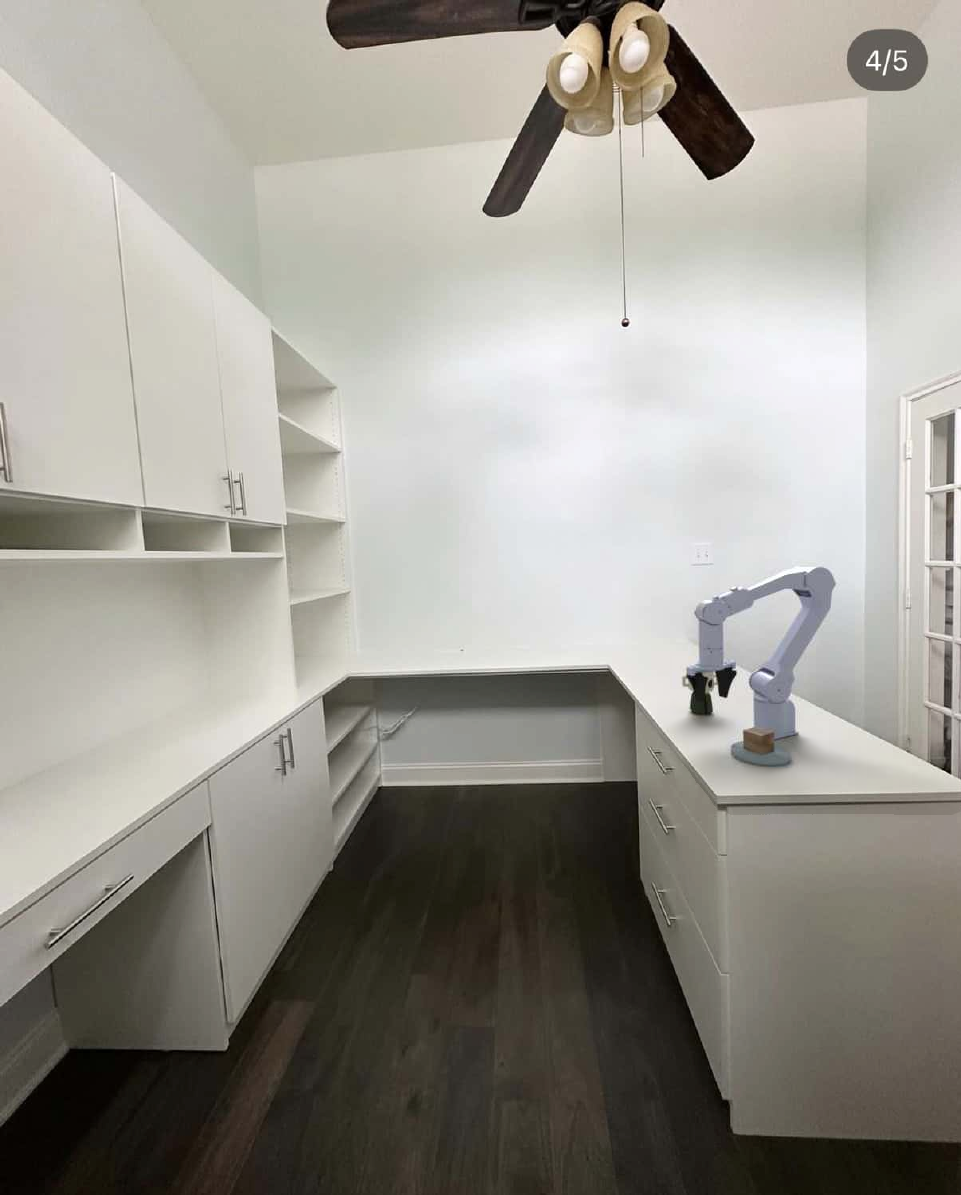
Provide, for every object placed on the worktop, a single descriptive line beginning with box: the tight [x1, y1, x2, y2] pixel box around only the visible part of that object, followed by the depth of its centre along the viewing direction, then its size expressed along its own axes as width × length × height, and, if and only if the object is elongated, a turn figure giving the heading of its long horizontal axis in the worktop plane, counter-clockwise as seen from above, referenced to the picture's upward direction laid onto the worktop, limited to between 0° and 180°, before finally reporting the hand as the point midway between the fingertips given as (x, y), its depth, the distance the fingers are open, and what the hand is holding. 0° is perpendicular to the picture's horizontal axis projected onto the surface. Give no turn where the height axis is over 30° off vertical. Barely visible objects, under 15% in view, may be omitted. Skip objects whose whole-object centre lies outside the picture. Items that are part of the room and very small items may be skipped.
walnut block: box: [742, 726, 775, 755], centre depth 116 cm, size 4×4×4 cm
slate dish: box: [730, 740, 792, 767], centre depth 116 cm, size 12×12×1 cm
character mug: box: [681, 671, 718, 715], centre depth 147 cm, size 11×7×13 cm, turn 90°
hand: (711, 699), depth 129 cm, fingers open, 7 cm apart
